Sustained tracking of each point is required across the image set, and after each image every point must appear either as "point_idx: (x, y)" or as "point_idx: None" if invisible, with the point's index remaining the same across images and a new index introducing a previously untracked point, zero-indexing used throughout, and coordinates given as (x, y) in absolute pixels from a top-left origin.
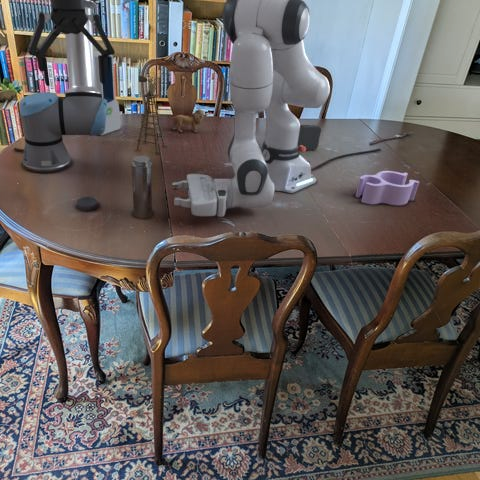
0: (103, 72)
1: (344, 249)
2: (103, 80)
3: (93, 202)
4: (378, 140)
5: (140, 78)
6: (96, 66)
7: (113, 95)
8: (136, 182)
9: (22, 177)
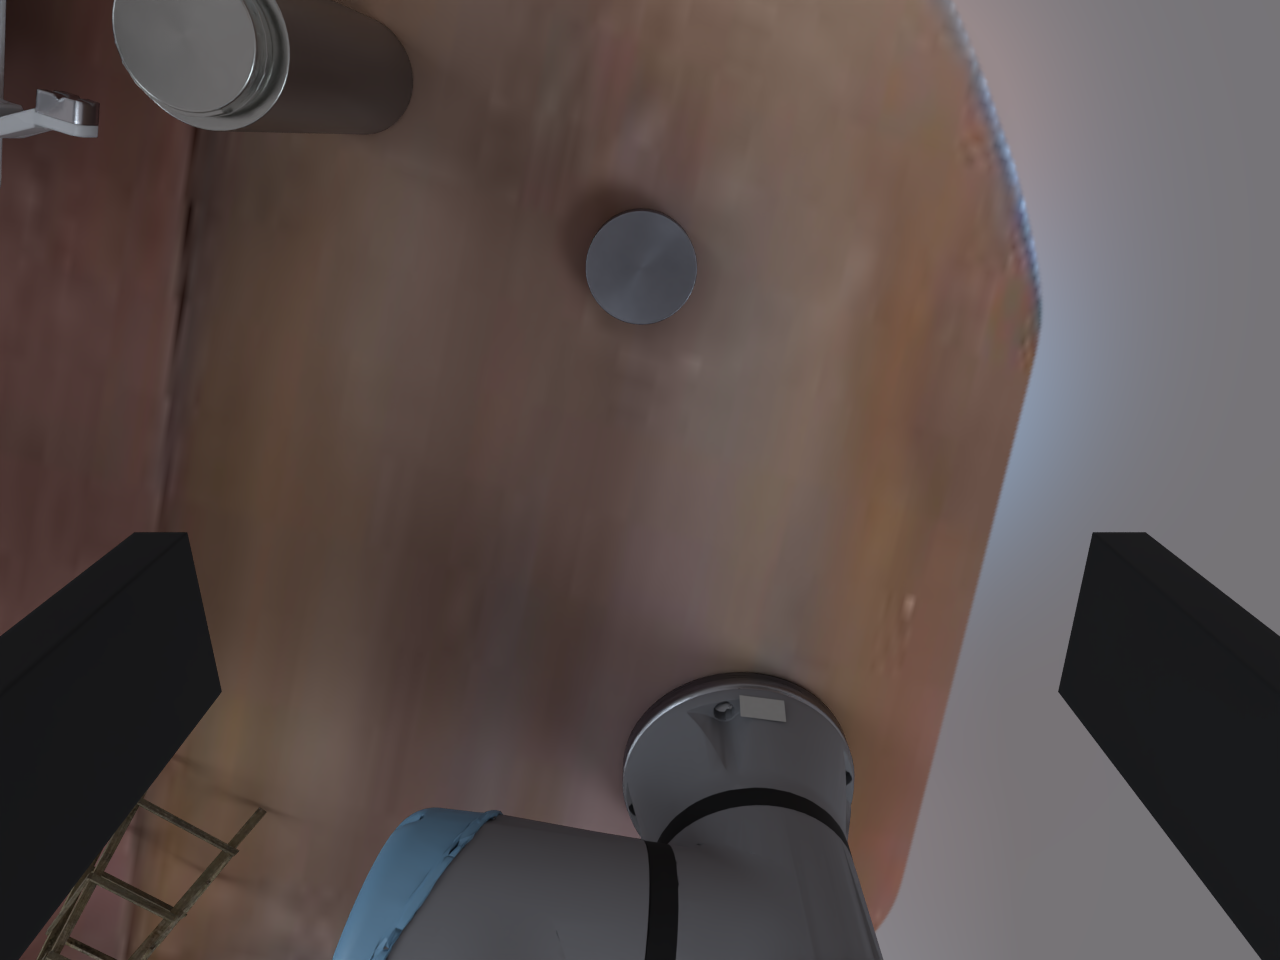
0: (12, 647)
1: None
2: (126, 561)
3: (610, 246)
4: None
5: None
6: None
7: None
8: (315, 2)
9: (876, 658)
